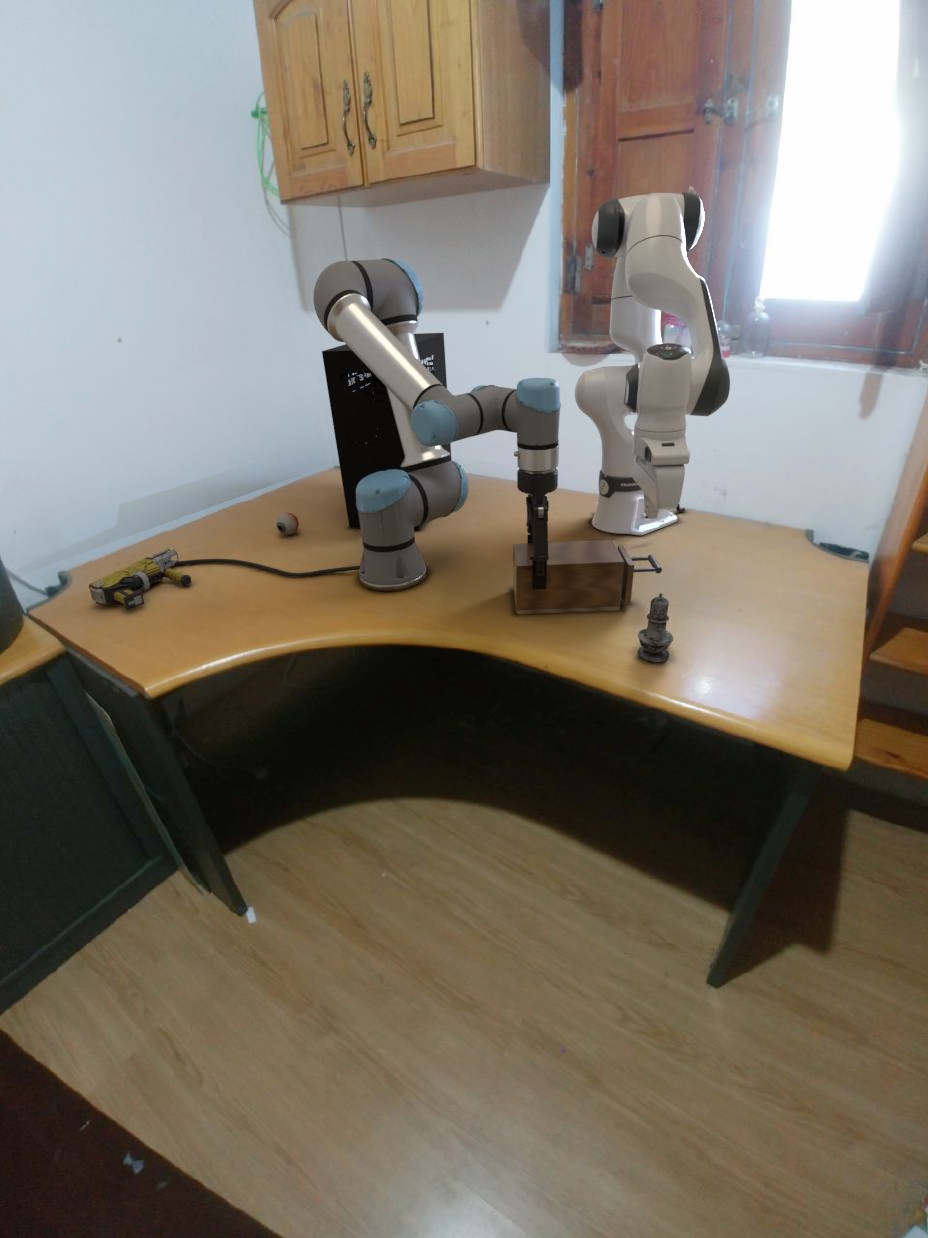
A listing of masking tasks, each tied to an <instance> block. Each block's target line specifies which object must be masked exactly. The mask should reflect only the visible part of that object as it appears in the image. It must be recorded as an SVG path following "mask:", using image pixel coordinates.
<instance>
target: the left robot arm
mask: <svg viewBox="0 0 928 1238" xmlns="http://www.w3.org/2000/svg"><path fill="white" fill-rule="evenodd" d="M423 291H424V290H423V286H422V283H421V281H420V278H419V276H418V274H417V273H416V271H415V270H414V269H413V267H412V266H411V265H409V264H408V263H406V262H405V261H404V260H401V259H393V258H388V257H387V258H386V257H384V258H383V257H382V258H379V259H362V260H338V261H335V262H333V263H331V264H329V265H327V266H326V267H325V268H324V269H323V270H322V271H321V272H320V274H319V276H318V277H317V279H316V281H315V284H314V288H313V295H312V296H313V298H312V299H313V307H314V311H315V314H316V317H317V319H318V321H319V323H320V325H322V327H323V328H324V330H325V331H326V332H327V333H328V334H329V335H330V336H331V337H332V338H333V339H334V340H335V341H337V342H340V343H345V344H347V345H348V346H349V347H350V349H351V350H352V351H353V352H354V353H355V354H356V355H357V356H358V357H359V358H360V359H361V360H362V361H363V362H364V363H365V364H366V366H367V367H368V368H369V369H370V370H371V371H372V372H373V373H374V374H375V375H376V376H377V377H378V378H379V379H380V380H381V381H382V383H383V384H384V385H385V386H386V387H387V391H388V395H389V399H390V402H391V406H392V410H393V414H394V417H395V421H396V425H397V429H398V432H399V436H400V440H401V444H402V448H403V451H404V455H405V457H404V460H403V462H402V464H401V470H397V469H391V470H387V471H379V472H376V473H373V474H370V475H368V476H366V477H365V478H363V479H362V480H361V481H360V482H359V483H358V485H357V487H356V506H357V509H358V514H359V521H360V528H359V529H360V534H361V540H362V553H361V559H360V564H359V565H351V566H343V567H342V566H341V567H333V568H327V569H319V570H313V571H305V572H291V571H285V570H281V569H278V568H276V567H275V568H274V567H271V566H267V565H263V564H260V563H256V562H251V561H247V560H241V559H233V558H231V559H230V558H201V559H200V558H198V559H188V560H179V561H177V560H176V561H177V562H175V565H174V566H185V565H194V564H210V563H212V564H213V563H219V564H220V563H221V564H223V563H224V564H235V565H243V566H246V567H247V566H248V567H252V568H256V569H259V570H264V571H268V572H271V573H275V574H279V575H281V576H285V577H291V578H304V577H312V576H318V575H319V576H320V575H324V574H333V573H341V572H349V571H351V572H352V571H358V575H359V582H360V584H361V585H362V586H363V587H365V588H367V589H370V590H372V591H378V592H396V591H402V590H406V589H409V588H412V587H415V586H417V585H418V584H420V583H421V582H422V581H424V579H425V578H426V577H427V566H426V563H425V561H424V558H423V557H422V554H421V552H420V550H419V547H418V545H417V544H416V535H415V530H414V527H416V526H418V525H421V524H424V523H425V524H427V523H429V522H432V521H434V520H437V519H440V518H445V517H448V516H450V515H451V514H453V513H456V512H458V511H459V510H460V509H462V508H463V507H464V505H465V502H466V500H468V495H469V480H468V476H467V473H466V471H465V469H464V468H462V465H461V464H460V463H459V462H458V461H454V460H453V459H452V454H451V455H450V453H449V452H448V451H446V450H444V449H443V448H442V447H441V445H447V444H452V443H454V442H458V441H461V440H465V439H468V438H472V437H476V436H480V435H483V434H488V433H490V432H491V433H492V432H495V431H505V432H509V433H515V434H516V447H517V450H515V451H514V452H513V456H514V457H516V458H517V468H518V470H517V472H516V478H517V479H516V480H517V483H516V484H517V486H516V487H517V489H518V491H519V492H521V493H523V494H527V496H526V497H525V501H526V502H525V503H526V523H525V525H526V532H527V533H528V534H527V539H526V541H527V543H533V557H530V560H532V589H533V590H536V589H546V587H547V560H548V559H549V556H548V542H549V535H548V534H549V528H548V527H549V507H550V502H549V500H548V495H547V494H550V493H553V492H555V491H556V490H557V489H558V485H559V484H558V483H559V470H558V467H559V457H560V443H559V442H560V441H559V433H560V432H559V431H560V417H561V416H560V414H561V407H562V406H561V394H560V393H561V391H560V384H559V382H558V381H557V380H556V379H554V378H551V377H530V378H529V377H528V378H524V379H523V378H522V379H521V380H519V381H518V382H517V384H516V388H511V387H505V386H504V387H503V386H498V385H494V384H489V385H483V384H482V385H481V384H480V385H476V386H475V387H474V388H472V389H471V391H470V392H466V393H462V394H461V393H460V394H456V395H454V394H452V392H451V391H450V390H449V389H448V387H447V388H445V387H444V386H443V385H442V384H441V383H440V382H439V381H438V380H437V379H436V378H435V376H434V375H433V374H432V373H431V372H430V371H431V370H430V371H429V368H428V369H427V368H426V367H425V366H424V365H423V362H422V361H420V357H419V353H418V349H417V345H416V341H415V337H414V334H415V332H416V330H417V328H418V327H419V325H420V324H419V319H418V317H420V315H421V312H422V310H423V307H424V306H423V302H424V292H423ZM425 524H424V525H425Z"/></svg>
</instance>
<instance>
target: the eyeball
mask: <svg viewBox="0 0 928 1238" xmlns="http://www.w3.org/2000/svg"><path fill="white" fill-rule="evenodd" d="M299 525H300V522H299V519H298V517H297V516H296V515H295V514H294V513H292V512H287V511H286V512H282V513H280V514H279V515H278V516H277V517H276V520H275V527H276V529H277V530H278V531H279V532H280V533H281V534H282V535H285V536H286V535H287V536H289V535H293V534H295V533H296V532H297V531H298V529H299Z"/></svg>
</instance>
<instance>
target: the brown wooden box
mask: <svg viewBox="0 0 928 1238" xmlns="http://www.w3.org/2000/svg"><path fill="white" fill-rule="evenodd" d="M617 548H618V546H616V544H615V542H614V540H613V539H600V540H598V539H597V540H575V541H554V542H553V541H551V542H549V541H548V556H549V559H548V560H547V587H546V589H536V590H533V589H532V560H530V557H533V543H513V544H512V591H513V598H514V604H515V613H516V615H533V614H535V615H536V614H557V613H559V614H560V613H584V612H585V613H586V612H610V611H614V612H615V611H621V601H622V597H621V591H622V580H623V569H624V561H623V559H622V557H621V555H620V553H619V551H618V549H617Z"/></svg>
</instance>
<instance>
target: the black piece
mask: <svg viewBox="0 0 928 1238" xmlns="http://www.w3.org/2000/svg"><path fill="white" fill-rule="evenodd" d="M414 337H415V341H416V345H417V349H418V353H419V357H420V361H421V362H422V364H423V365H424V366H425V367H426V368H427V369H428V370H429V371H430V372H431V373H432V374H433V375H434V377H435V378H436V379H437V380H438V381H439V382H440V383H441V384H442V385H443V386H444V387H445V388H447V389H448V381H447V366H446V365H447V364H446V350H445V333H444V332H426V333H414ZM321 355H322V361H323V367H324V375H325V380H326V386H327V393H328V399H329V405H330V412H331V419H332V425H333V431H334V437H335V445H336V451H337V457H338V464H339V470H340V477H341V483H342V490H343V496H344V502H345V509H346V514H347V522H348V528H349V529H361V528H360V521H359V514H358V509H357V506H356V487H357V485H358V483H359V482H360V481H361V480H362V479H363V478H365V477H366V476H368V475H370V474H373V473H376V472H379V471H387V470H391V469H397V470H401V464H402V462H403V460H404V457H405V455H404V451H403V448H402V444H401V440H400V436H399V432H398V429H397V425H396V421H395V417H394V414H393V410H392V406H391V402H390V399H389V395H388V391H387V387H386V386H385V385H384V384H383V383H382V381H381V380H380V379H379V378H378V377H377V376H376V375H375V374H374V373H373V372H372V371H371V370H370V369H369V368H368V367H367V366H366V364H365V363H364V362H363V361H362V360H361V359H360V358H359V357H358V356H357V355H356V354H355V353H354V352H353V351H352V350H351V349H350V347H349V346H348V345H347V344H346V343H345V344H342V345H338V346H335V347H332V348H328V349H324V350H322V351H321ZM451 444H452V443H450V444H447V445H441V447H442V448H443V449H444V450H446V451H448V452H449V453H450V455H451V456H452V447H451V446H452V445H451ZM425 524H426V523H424V524H421V525H418V526H416V527H414V531H416V532H417V531H418V532H419V531H421V529H422V528H423V527H424V526H425Z"/></svg>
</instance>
